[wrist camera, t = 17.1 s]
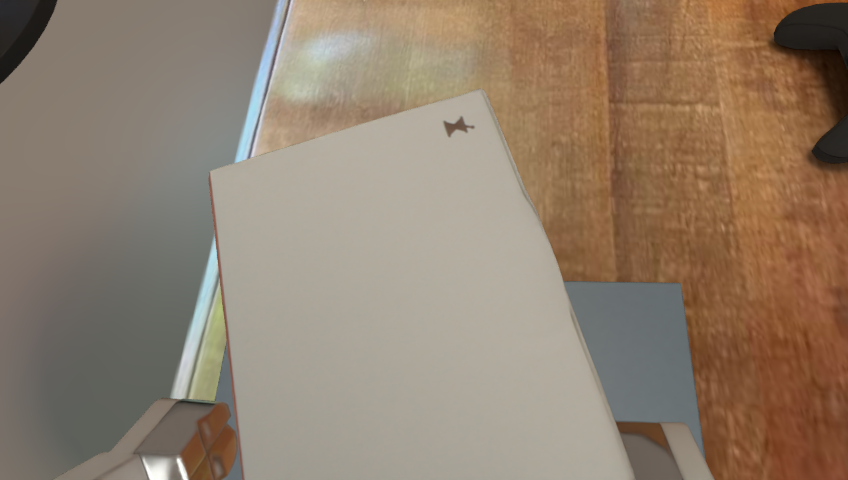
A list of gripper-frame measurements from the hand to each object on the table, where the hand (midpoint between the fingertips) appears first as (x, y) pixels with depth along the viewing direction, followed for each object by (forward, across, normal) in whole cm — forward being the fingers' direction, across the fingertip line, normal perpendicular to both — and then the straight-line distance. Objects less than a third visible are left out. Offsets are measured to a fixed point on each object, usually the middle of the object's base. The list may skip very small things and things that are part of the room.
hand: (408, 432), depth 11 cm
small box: (+9, 0, +6) cm, 11 cm away
